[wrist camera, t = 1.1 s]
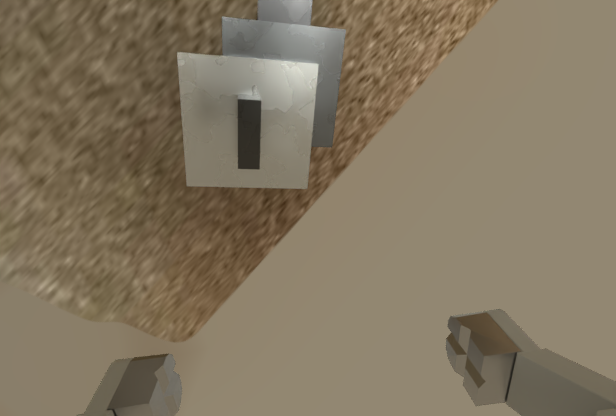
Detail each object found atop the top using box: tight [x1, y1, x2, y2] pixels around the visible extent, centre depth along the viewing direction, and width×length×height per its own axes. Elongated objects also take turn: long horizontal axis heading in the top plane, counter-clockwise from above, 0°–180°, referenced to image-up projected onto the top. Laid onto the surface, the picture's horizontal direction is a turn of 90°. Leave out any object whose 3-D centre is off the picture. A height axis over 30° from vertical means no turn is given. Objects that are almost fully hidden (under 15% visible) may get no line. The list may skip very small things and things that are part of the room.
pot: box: [222, 0, 346, 147], centre depth 30 cm, size 13×9×8 cm
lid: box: [177, 52, 319, 189], centre depth 26 cm, size 10×10×4 cm
